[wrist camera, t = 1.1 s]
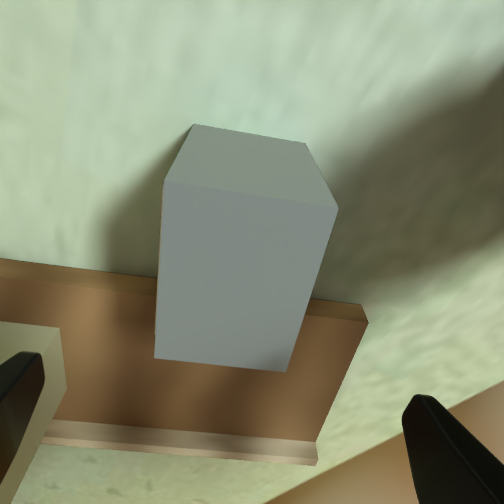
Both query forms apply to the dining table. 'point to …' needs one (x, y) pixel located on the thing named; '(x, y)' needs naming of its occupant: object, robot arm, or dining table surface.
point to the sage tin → (49, 346)
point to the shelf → (175, 372)
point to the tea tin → (239, 248)
